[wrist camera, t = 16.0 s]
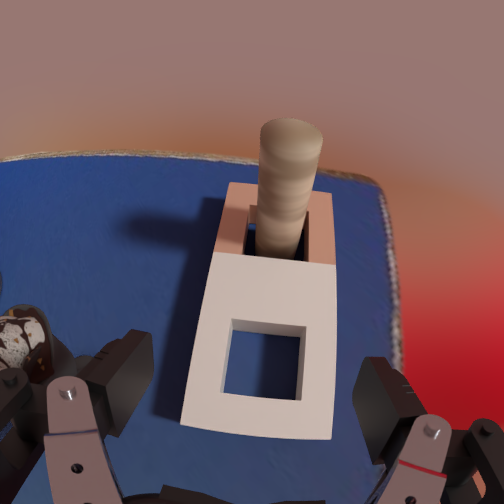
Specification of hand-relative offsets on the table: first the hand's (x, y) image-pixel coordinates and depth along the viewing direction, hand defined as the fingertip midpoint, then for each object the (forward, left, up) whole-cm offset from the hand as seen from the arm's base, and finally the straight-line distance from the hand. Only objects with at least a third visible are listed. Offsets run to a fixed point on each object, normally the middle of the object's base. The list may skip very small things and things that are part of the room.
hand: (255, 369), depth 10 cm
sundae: (-8, -13, -14) cm, 21 cm away
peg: (-11, +10, -14) cm, 21 cm away
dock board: (-6, +6, -14) cm, 17 cm away
